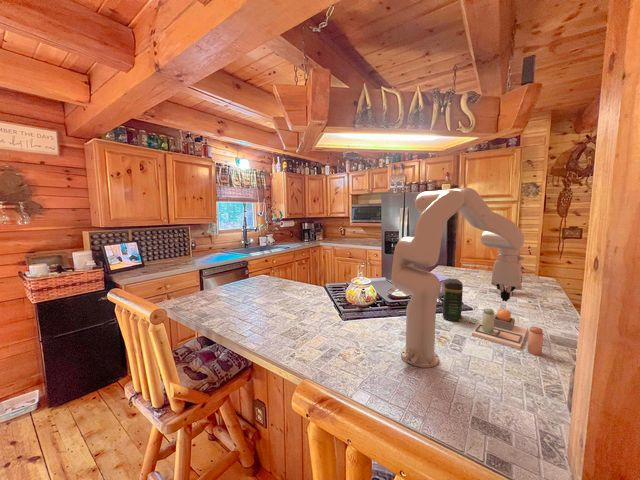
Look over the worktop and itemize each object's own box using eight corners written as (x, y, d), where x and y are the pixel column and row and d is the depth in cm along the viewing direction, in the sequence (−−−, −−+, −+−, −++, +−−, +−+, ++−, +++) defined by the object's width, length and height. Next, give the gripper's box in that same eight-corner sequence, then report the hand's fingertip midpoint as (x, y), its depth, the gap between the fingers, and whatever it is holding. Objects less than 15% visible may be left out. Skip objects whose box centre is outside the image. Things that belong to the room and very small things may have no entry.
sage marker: (492, 334, 106) (493, 312, 105) (481, 331, 109) (481, 310, 108) (494, 330, 109) (495, 309, 108) (483, 327, 112) (484, 307, 111)
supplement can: (512, 293, 158) (514, 268, 156) (513, 297, 151) (515, 272, 149) (496, 291, 162) (497, 267, 160) (496, 295, 155) (498, 270, 153)
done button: (509, 323, 110) (509, 314, 109) (495, 320, 113) (496, 311, 113) (511, 320, 113) (511, 311, 113) (498, 317, 117) (498, 308, 116)
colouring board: (520, 349, 97) (521, 338, 97) (471, 335, 108) (472, 325, 108) (527, 330, 111) (528, 320, 111) (484, 319, 122) (484, 310, 122)
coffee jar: (462, 322, 120) (464, 283, 118) (443, 320, 123) (444, 281, 121) (460, 314, 129) (461, 277, 126) (442, 312, 132) (443, 276, 129)
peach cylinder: (540, 356, 92) (543, 332, 91) (526, 352, 95) (528, 329, 94) (542, 352, 95) (544, 328, 94) (528, 348, 98) (530, 325, 97)
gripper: (531, 259, 107) (528, 302, 110) (489, 254, 118) (487, 294, 120) (529, 262, 102) (525, 307, 104) (485, 257, 112) (482, 298, 115)
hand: (505, 300), depth 112 cm, fingers closed
